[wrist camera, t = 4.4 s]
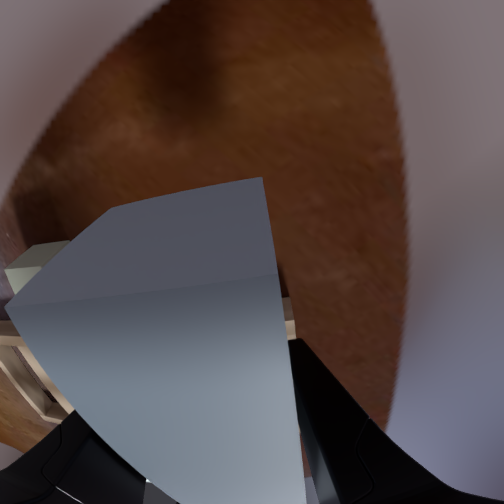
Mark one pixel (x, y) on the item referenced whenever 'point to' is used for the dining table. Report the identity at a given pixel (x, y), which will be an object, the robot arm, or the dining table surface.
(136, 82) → the dining table surface
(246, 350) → the wing block
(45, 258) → the block
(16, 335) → the frame
